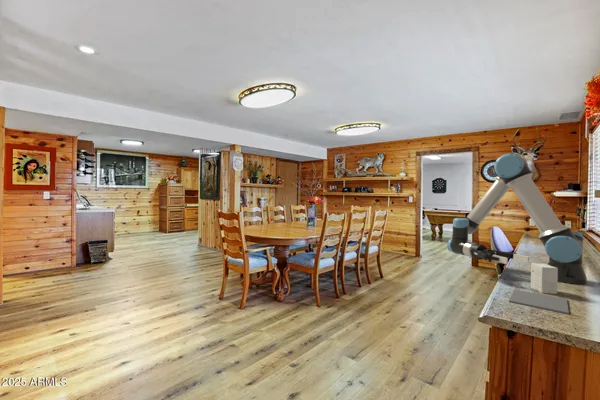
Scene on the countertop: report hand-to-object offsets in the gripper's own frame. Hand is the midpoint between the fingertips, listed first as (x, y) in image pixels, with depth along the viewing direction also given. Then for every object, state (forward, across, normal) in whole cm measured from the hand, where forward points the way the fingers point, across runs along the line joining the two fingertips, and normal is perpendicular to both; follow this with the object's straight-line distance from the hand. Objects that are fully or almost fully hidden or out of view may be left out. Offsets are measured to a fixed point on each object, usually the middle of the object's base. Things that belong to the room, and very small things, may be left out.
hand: (518, 260), depth 130 cm
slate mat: (+18, +16, -10) cm, 26 cm away
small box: (+10, 0, -10) cm, 15 cm away
